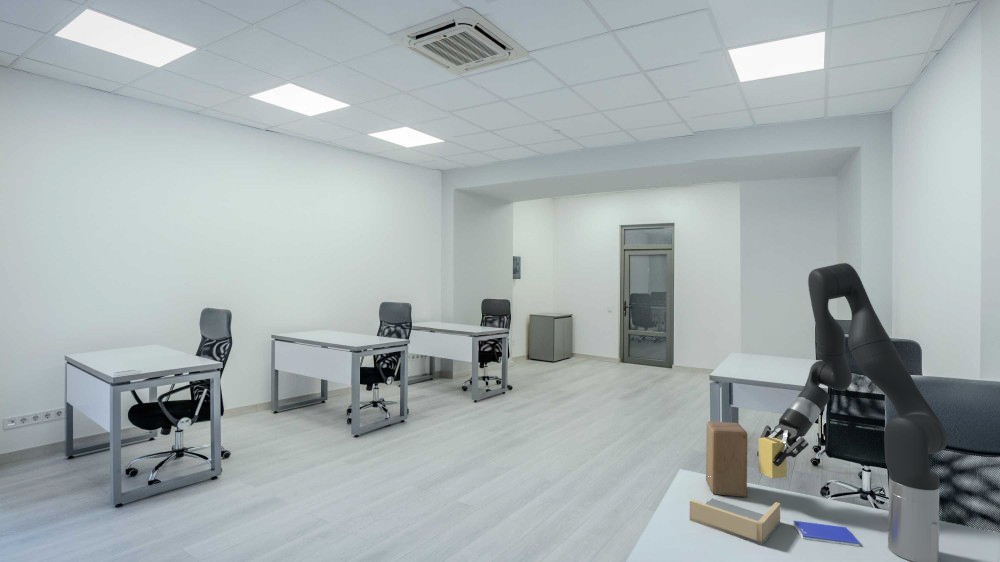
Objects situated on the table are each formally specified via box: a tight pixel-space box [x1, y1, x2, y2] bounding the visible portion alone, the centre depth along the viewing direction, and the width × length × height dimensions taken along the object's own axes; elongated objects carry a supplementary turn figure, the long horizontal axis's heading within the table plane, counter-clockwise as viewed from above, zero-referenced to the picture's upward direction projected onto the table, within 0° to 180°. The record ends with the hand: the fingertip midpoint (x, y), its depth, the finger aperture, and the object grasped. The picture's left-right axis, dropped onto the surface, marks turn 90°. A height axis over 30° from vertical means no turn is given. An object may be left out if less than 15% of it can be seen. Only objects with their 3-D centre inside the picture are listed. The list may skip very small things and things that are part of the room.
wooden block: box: [705, 420, 749, 498], centre depth 152 cm, size 10×10×20 cm
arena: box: [689, 498, 781, 546], centre depth 133 cm, size 18×16×5 cm
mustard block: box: [758, 437, 787, 479], centre depth 143 cm, size 5×5×10 cm
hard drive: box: [792, 520, 860, 547], centre depth 126 cm, size 2×8×12 cm
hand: (767, 460), depth 142 cm, fingers closed on mustard block, 5 cm apart
